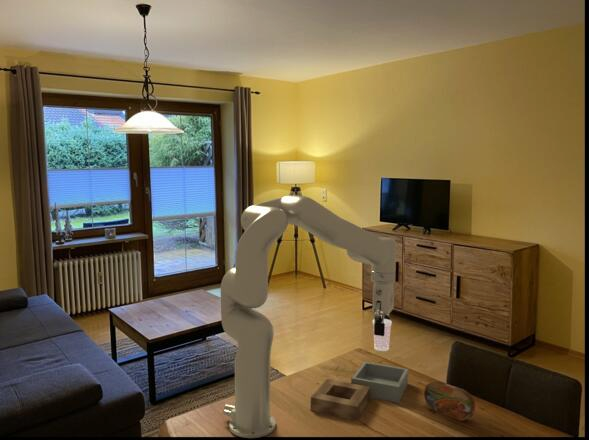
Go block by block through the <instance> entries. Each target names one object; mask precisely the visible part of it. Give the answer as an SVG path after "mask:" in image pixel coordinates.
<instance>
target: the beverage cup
mask: <svg viewBox="0 0 589 440" xmlns="http://www.w3.org/2000/svg"><path fill="white" fill-rule="evenodd" d="M382 313H383V312H382ZM380 316H381V315H380ZM381 319H382V316H381ZM384 323H385V334H384V336H378V335H374V334H373V345H374V350H376V351H378V352H379V351H380V352H387V351H389V350H390V339H391V329H392V328H391V327H392V323H393V321H392V320H391V319H390V320H388V319H384ZM372 324H373V329H374V319H372Z"/></svg>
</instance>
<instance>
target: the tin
mask: <svg viewBox="0 0 589 440" xmlns="http://www.w3.org/2000/svg"><path fill="white" fill-rule="evenodd" d="M423 391H424V393H423V396H424V400H425V402H426V404H427V405H428V407H429V408H430V409H431V410H433V411H434V412H436V413H439V414H441V415H445V416H446V417H449V418H451V419H454V420H456V421H461V422H463V421H466V420H468V419H470V418H471V417H472V416H474V414H475V412H476V403H475V399H474V398H473V396H472V394H471V393H469V392H468V391H467V390H466V389H463V388H460V387H457V386H454V385H451V384H449V383H446V382H443V381H433V382H429V383H428V384H427V385H426V386H425V388H424V390H423Z"/></svg>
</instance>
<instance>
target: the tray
mask: <svg viewBox="0 0 589 440" xmlns="http://www.w3.org/2000/svg"><path fill="white" fill-rule="evenodd" d="M350 379H351V380H350V383H352V384H357V385H362V386H368V387H370V399H375V400H376V399H377V400H383V401H386V402H392V403H396V404H397V403H398V404H400V402H401V400H402V397H403V395H404V393H405V391H406V389H407V387H408V385H409V368H404V367H399V366H392V365H387V364H381V363H374V362H369V361H368V362H367V361H363V362H362V364H361V365H360V366H359V368H358V369H357V370H356V371H355V373H354V374H353V375H352V377H351V378H350Z"/></svg>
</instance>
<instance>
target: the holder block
mask: <svg viewBox="0 0 589 440" xmlns="http://www.w3.org/2000/svg"><path fill="white" fill-rule="evenodd" d="M370 400H371V397H370V387H368V386H362V385H357V384H352V383H351V382H345V381H341V380H340V381H339V380H336V379H335V380H334V379H330V378H327V379H326V380H325V381H324V382H322V384H321V385H320V386H319V387H318V389H317V390H316V391H315V392H314V393H313V394H312V395H311V396H310V411H311V412H316V413H320V414H325V415H329V414H331V416H334V415H335V417H339V418H344V419H348V420H353V421H359V418H360V417H361V415H362V414H363V412H364V410H365V409H366V407H367V405H368V404H369V402H370Z"/></svg>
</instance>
